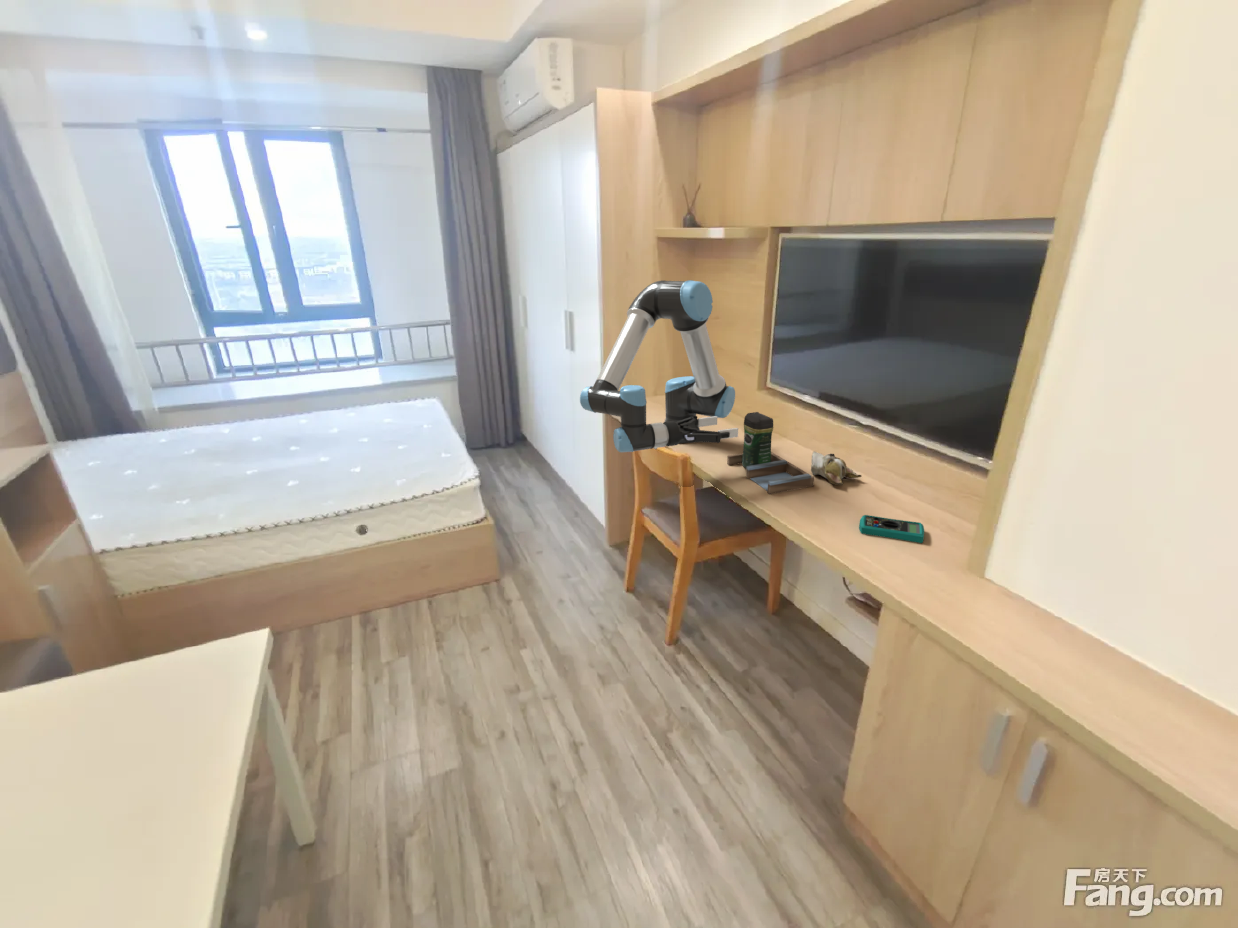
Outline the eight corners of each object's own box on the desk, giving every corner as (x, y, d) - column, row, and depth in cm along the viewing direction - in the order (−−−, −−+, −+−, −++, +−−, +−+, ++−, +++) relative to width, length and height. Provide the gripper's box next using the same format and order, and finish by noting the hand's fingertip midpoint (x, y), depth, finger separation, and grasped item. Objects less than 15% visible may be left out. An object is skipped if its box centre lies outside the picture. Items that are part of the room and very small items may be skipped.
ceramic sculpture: (824, 442, 179) (866, 458, 168) (821, 466, 183) (861, 483, 171) (802, 450, 174) (844, 467, 162) (799, 475, 177) (839, 493, 166)
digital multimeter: (859, 522, 148) (860, 512, 147) (922, 531, 142) (924, 521, 141) (857, 535, 142) (859, 525, 141) (923, 545, 136) (925, 535, 135)
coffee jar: (774, 471, 181) (778, 416, 174) (753, 475, 179) (756, 420, 172) (758, 461, 190) (761, 408, 183) (737, 464, 187) (740, 412, 180)
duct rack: (727, 464, 188) (727, 453, 187) (766, 457, 193) (767, 447, 191) (770, 494, 165) (770, 483, 164) (813, 486, 169) (814, 474, 168)
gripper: (649, 434, 181) (708, 426, 187) (680, 459, 159) (746, 449, 165) (649, 412, 178) (709, 405, 184) (680, 434, 156) (747, 425, 162)
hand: (726, 426), depth 175 cm, fingers open, 13 cm apart
